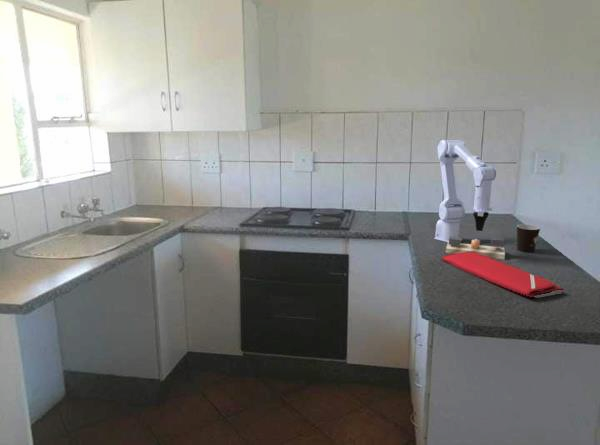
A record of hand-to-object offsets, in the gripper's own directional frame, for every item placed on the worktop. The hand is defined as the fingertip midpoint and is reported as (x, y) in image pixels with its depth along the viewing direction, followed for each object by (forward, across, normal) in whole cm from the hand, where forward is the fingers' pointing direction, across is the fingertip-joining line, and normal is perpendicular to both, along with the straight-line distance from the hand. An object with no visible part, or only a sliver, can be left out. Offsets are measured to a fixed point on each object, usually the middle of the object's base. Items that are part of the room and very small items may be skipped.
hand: (479, 230), depth 187 cm
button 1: (+6, 0, +9) cm, 11 cm away
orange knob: (+8, 0, +1) cm, 8 cm away
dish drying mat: (+10, -25, -8) cm, 28 cm away
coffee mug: (+10, +13, -20) cm, 25 cm away
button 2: (+5, 0, -7) cm, 9 cm away
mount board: (+10, 0, +1) cm, 10 cm away
